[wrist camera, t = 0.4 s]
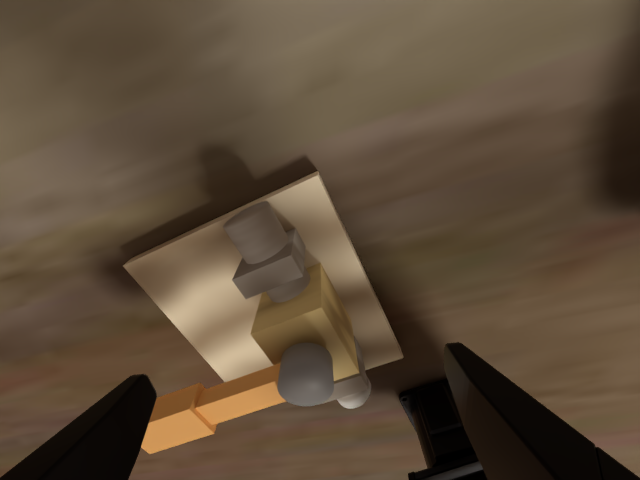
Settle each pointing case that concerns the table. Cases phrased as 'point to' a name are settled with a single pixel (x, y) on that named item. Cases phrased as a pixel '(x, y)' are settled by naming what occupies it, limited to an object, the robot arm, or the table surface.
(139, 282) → the valve plank
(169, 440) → the valve lever
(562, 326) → the table surface
